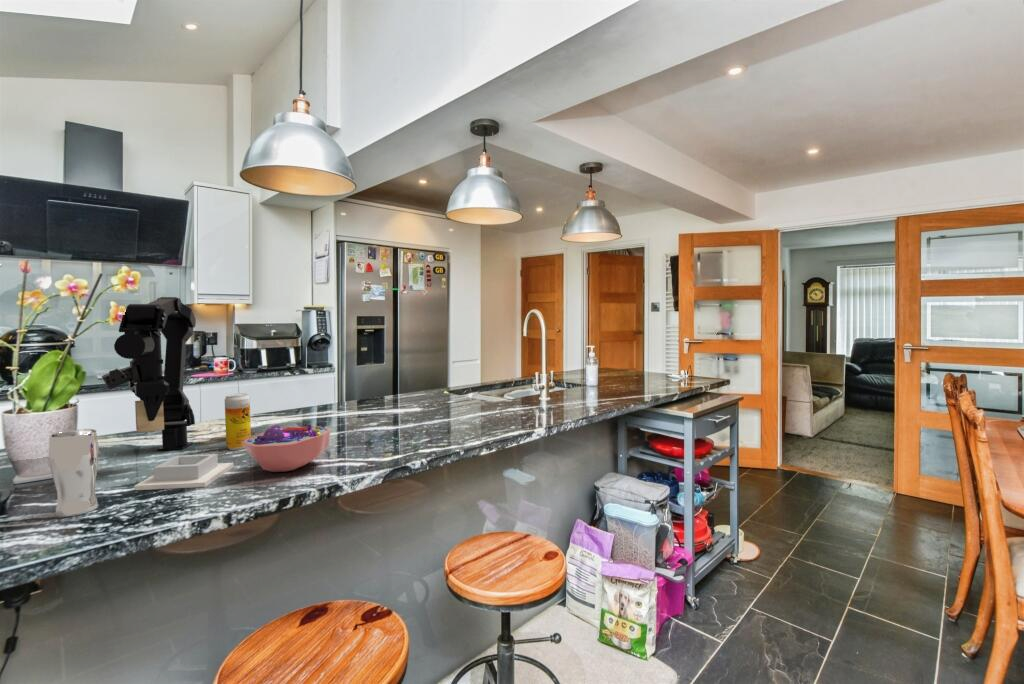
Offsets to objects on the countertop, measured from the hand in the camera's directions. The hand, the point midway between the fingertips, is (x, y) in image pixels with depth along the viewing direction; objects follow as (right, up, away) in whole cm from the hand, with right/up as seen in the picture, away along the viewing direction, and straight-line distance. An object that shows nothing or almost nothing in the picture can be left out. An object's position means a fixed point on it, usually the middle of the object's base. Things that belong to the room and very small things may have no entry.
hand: (149, 419), depth 117 cm
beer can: (+12, -11, +17) cm, 24 cm away
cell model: (+34, -12, -1) cm, 37 cm away
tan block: (0, -3, 0) cm, 2 cm away
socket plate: (+14, -12, -7) cm, 20 cm away
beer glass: (+6, -14, -26) cm, 30 cm away
